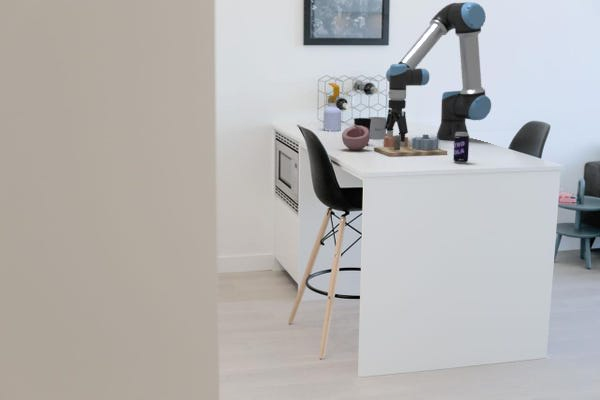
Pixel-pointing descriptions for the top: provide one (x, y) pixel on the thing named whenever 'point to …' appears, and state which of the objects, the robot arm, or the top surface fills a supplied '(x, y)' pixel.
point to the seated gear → (425, 143)
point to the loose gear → (392, 141)
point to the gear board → (407, 150)
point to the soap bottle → (333, 112)
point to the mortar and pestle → (355, 137)
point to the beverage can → (461, 147)
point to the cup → (363, 123)
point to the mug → (377, 128)
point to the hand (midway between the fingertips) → (395, 147)
